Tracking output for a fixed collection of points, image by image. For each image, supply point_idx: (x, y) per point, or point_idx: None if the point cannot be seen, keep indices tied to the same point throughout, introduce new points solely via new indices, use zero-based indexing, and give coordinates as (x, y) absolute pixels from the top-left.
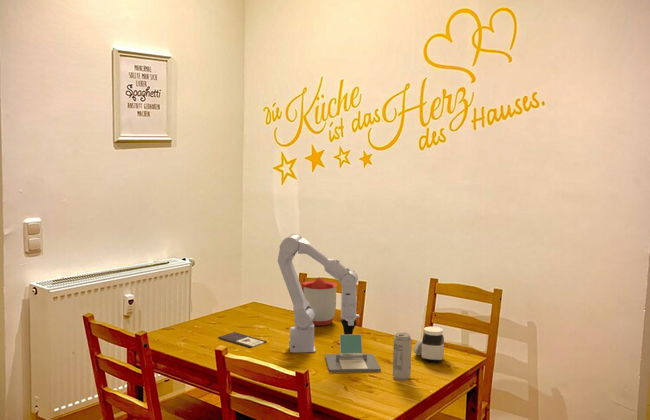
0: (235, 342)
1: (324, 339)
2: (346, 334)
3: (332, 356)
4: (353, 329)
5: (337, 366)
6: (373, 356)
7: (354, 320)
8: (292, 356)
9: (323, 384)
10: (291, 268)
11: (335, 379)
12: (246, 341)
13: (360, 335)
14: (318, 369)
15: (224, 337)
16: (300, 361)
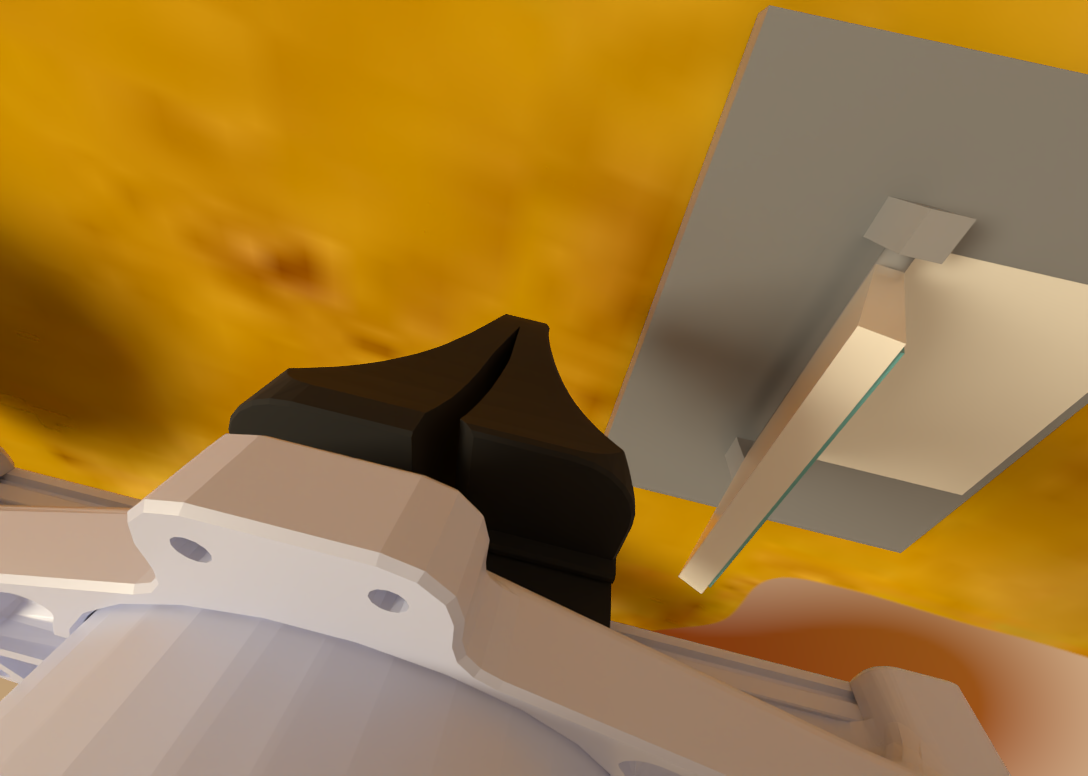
0: None
1: (211, 341)
2: (744, 541)
3: (655, 453)
4: (564, 389)
5: (881, 498)
6: (876, 53)
7: (416, 461)
8: None
9: (1040, 612)
10: None
11: (1034, 549)
12: None
13: (898, 358)
14: (792, 555)
15: None
16: (621, 572)
